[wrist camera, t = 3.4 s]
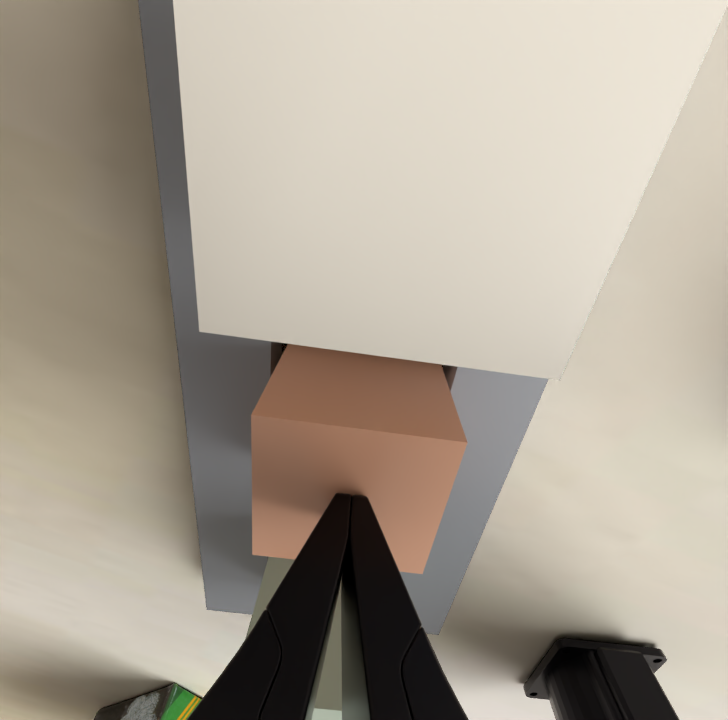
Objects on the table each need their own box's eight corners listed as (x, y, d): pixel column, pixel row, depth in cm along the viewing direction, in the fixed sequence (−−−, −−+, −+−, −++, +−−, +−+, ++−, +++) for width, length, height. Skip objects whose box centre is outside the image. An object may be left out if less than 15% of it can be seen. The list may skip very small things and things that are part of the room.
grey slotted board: (434, 602, 20) (438, 634, 19) (218, 578, 20) (206, 609, 18) (684, -41, 8) (746, -83, 7) (161, -135, 8) (115, -200, 7)
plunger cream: (473, 283, 10) (560, 380, 5) (283, 256, 9) (199, 331, 5) (543, 37, 7) (809, -177, 3) (292, -5, 7) (149, -306, 3)
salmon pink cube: (408, 456, 15) (422, 573, 11) (289, 441, 15) (252, 554, 11) (436, 349, 13) (467, 442, 8) (295, 329, 13) (250, 414, 8)
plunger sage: (379, 620, 17) (380, 780, 12) (271, 608, 17) (233, 766, 12) (398, 551, 15) (408, 717, 10) (274, 536, 14) (228, 699, 10)
